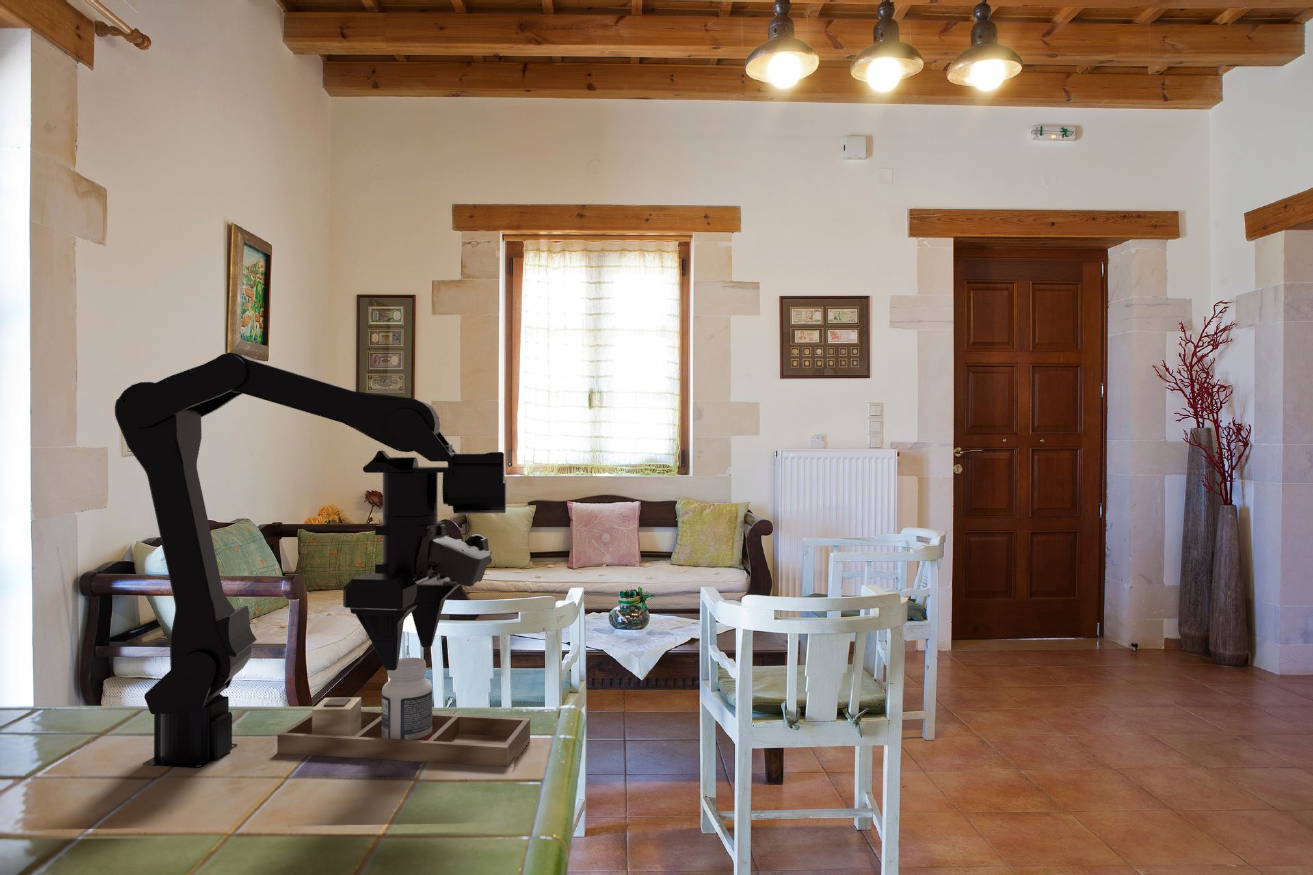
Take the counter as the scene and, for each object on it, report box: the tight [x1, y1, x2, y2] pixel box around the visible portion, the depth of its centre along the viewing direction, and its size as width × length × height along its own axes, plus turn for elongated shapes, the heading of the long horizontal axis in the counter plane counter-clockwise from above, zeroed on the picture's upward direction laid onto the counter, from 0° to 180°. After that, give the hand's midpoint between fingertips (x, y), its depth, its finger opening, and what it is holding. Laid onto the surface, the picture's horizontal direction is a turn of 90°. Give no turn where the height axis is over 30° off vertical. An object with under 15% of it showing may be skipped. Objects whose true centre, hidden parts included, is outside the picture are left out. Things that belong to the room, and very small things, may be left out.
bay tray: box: [276, 709, 531, 768], centre depth 91 cm, size 25×9×2 cm, turn 83°
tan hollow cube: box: [311, 696, 362, 737], centre depth 92 cm, size 4×4×4 cm
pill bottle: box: [381, 657, 433, 741], centre depth 91 cm, size 5×5×9 cm
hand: (410, 657), depth 91 cm, fingers open, 9 cm apart
